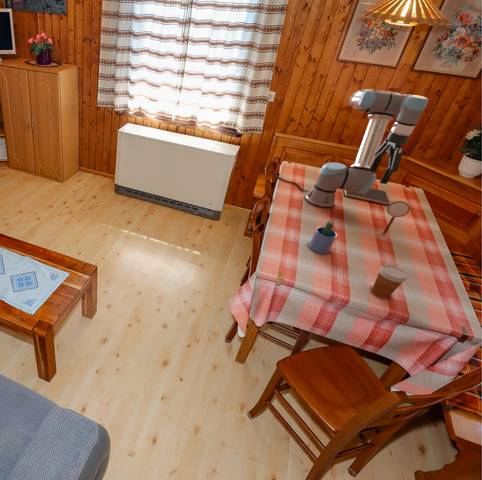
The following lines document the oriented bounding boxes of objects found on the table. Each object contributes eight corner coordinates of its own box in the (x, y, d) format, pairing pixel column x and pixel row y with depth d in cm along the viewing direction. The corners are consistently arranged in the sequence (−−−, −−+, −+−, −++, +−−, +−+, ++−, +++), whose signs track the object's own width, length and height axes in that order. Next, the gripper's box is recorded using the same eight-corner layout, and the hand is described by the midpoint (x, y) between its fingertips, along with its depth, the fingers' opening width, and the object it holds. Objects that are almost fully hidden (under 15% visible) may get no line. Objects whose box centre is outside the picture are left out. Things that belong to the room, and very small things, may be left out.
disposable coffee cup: (389, 288, 160) (404, 267, 153) (396, 303, 152) (411, 281, 145) (365, 283, 162) (378, 261, 155) (370, 297, 154) (384, 275, 148)
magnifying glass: (392, 236, 194) (412, 203, 182) (393, 238, 192) (413, 204, 181) (373, 231, 197) (392, 198, 185) (373, 233, 195) (392, 199, 184)
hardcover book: (387, 205, 222) (389, 201, 220) (344, 196, 229) (346, 192, 227) (383, 193, 234) (385, 190, 232) (342, 185, 241) (344, 182, 240)
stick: (314, 246, 182) (326, 222, 173) (317, 244, 183) (328, 220, 175) (321, 249, 180) (332, 225, 172) (323, 247, 182) (335, 223, 173)
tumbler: (305, 247, 182) (313, 231, 176) (313, 240, 187) (320, 224, 182) (324, 256, 177) (332, 239, 171) (331, 248, 182) (340, 232, 176)
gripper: (380, 123, 175) (359, 165, 187) (403, 141, 155) (378, 187, 167) (397, 125, 174) (376, 167, 186) (423, 144, 154) (397, 189, 166)
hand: (377, 177), depth 177 cm, fingers open, 13 cm apart
